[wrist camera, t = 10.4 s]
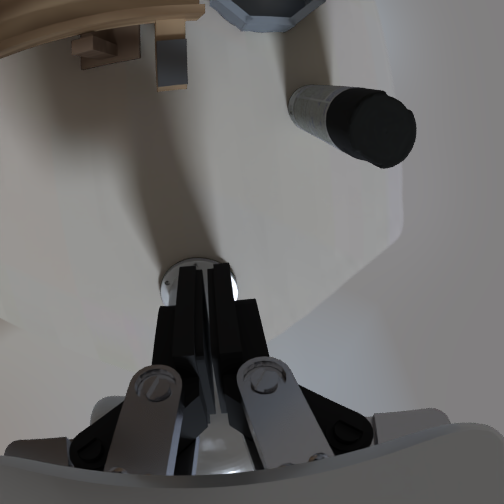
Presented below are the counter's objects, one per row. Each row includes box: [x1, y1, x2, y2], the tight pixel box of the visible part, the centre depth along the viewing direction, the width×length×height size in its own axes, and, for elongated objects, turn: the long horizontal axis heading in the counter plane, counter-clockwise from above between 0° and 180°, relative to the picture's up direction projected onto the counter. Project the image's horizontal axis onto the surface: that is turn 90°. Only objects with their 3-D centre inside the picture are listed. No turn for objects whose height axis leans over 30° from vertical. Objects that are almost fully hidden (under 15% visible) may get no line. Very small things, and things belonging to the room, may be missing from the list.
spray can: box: [288, 85, 416, 169], centre depth 30 cm, size 7×7×20 cm
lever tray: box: [0, 0, 205, 92], centre depth 21 cm, size 20×24×7 cm
